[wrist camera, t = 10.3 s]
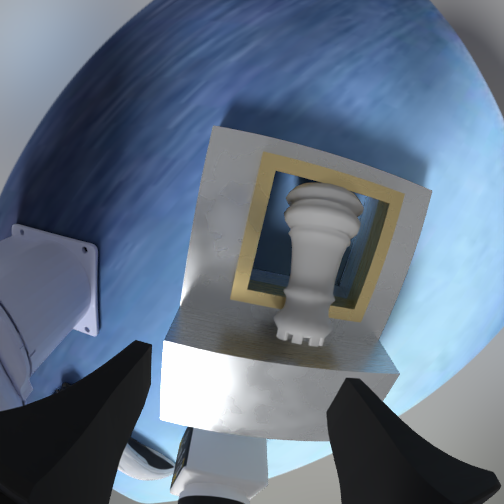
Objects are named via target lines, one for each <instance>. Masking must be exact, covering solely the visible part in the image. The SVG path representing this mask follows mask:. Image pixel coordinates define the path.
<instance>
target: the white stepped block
mask: <svg viewBox="0 0 504 504" xmlns="http://www.w3.org/2000/svg"><path fill="white" fill-rule="evenodd" d="M275 171H279V172H284V173H288V174H292V175H295V176H299V177H303V178H307V179H311V180H314V181H318V182H322V183H328V184H333V185H337V186H340V187H343V188H346V189H347V190H349V191H353V192H356V193H359V194H362V195H365V196H366V200H365V203H364V209H363V214H361V218H360V222H361V225H360V229H359V231H358V234H357V235H356V236H355V238H354V241H353V245H352V248H351V251H350V254H349V257H348V260H347V263H346V266H345V269H344V272H343V275H342V278H341V281H340V284H339V286H337V285H334V290H333V296H334V298H335V301H334V302H333V303H332V304H331V305H330V308H329V314H328V316H329V318H330V321H331V323H332V326H333V328H334V330H332V331H331V332H330V333H329V334H328V335H327V336H326V337H325V339H324V343H323V346H318V347H316V346H310V345H308V343H309V339H310V338H307V340H306V341H305V340H302V344H296V343H291V342H292V338H293V337H292V338H288V339H287V340H281V339H279V338H278V337H276V335H277V331H278V327H277V325H276V323H275V321H274V319H273V317H274V316H275V315H276V314H277V313H278V312H279V311H280V310H281V309H282V308H283V307H284V305H285V302H286V295H285V293H284V291H283V290H284V289H285V288H286V287H287V286H288V283H289V278H290V276H287V275H283V274H278V273H273V272H268V271H263V270H259V269H254V268H252V267H253V263H254V259H255V255H256V251H257V246H258V242H259V238H260V234H261V230H262V226H263V222H264V217H265V213H266V209H267V205H268V201H269V196H270V192H271V188H272V184H273V180H274V175H275ZM431 194H432V190H429V189H427V188H425V187H422V186H420V185H418V184H415V183H413V182H410V181H408V180H405V179H403V178H400V177H398V176H395V175H393V174H390V173H387V172H385V171H382V170H379V169H376V168H374V167H371V166H368V165H365V164H362V163H359V162H356V161H353V160H350V159H347V158H344V157H341V156H338V155H334V154H331V153H328V152H324V151H321V150H318V149H314V148H311V147H307V146H303V145H300V144H296V143H292V142H288V141H284V140H280V139H276V138H272V137H268V136H263V135H259V134H254V133H250V132H245V131H240V130H235V129H230V128H224V127H219V126H213V128H212V133H211V137H210V141H209V146H208V150H207V155H206V159H205V164H204V169H203V174H202V178H201V183H200V188H199V194H198V199H197V204H196V209H195V215H194V220H193V226H192V232H191V238H190V244H189V250H188V256H187V262H186V269H185V276H184V283H183V290H182V297H181V305H180V307H179V309H178V311H177V314H176V316H175V318H174V320H173V322H172V324H171V326H170V329H169V331H168V333H167V335H166V337H165V339H164V347H163V362H162V380H161V408H160V419H161V420H165V421H169V422H173V423H177V424H181V425H185V426H190V427H195V428H200V429H205V430H210V431H215V432H221V433H227V434H234V435H241V436H249V437H258V438H268V439H280V440H296V441H330V440H329V435H328V427H327V415H326V412H327V410H328V408H329V407H330V405H331V403H332V401H333V400H334V398H335V396H336V394H337V393H338V391H339V389H340V387H341V385H342V384H343V382H344V380H345V378H360V379H361V380H362V381H363V382H364V383H365V384H366V385H367V386H368V387H369V388H370V389H371V390H372V391H373V392H374V393H375V394H376V395H377V396H378V397H379V398H380V399H381V400H382V401H383V400H384V398H385V397H386V395H387V394H388V392H389V391H390V389H391V388H392V386H393V384H394V383H395V381H396V380H397V378H398V376H399V375H400V373H399V371H398V370H397V368H396V366H395V365H394V363H393V362H392V360H391V358H390V357H389V355H388V354H387V352H386V350H385V349H384V347H383V346H382V344H381V343H380V341H379V338H380V336H381V333H382V331H383V329H384V327H385V325H386V323H387V320H388V318H389V316H390V314H391V311H392V309H393V307H394V304H395V302H396V300H397V297H398V295H399V292H400V290H401V287H402V285H403V282H404V280H405V277H406V274H407V272H408V269H409V266H410V263H411V260H412V258H413V255H414V252H415V249H416V246H417V243H418V240H419V236H420V233H421V230H422V227H423V223H424V220H425V216H426V213H427V209H428V205H429V202H430V198H431Z"/></svg>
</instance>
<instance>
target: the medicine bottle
mask: <svg viewBox="0 0 504 504" xmlns="http://www.w3.org/2000/svg"><path fill="white" fill-rule="evenodd" d="M267 485H268V465H267V442H266V438H258V437H249V436H241V435H234V434H227V433H221V432H215V431H210V430H205V429H200V428H195V427H190V426H188V427H187V429H186V431H185V434H184V436H183V438H182V440H181V442H180V446H179V450H178V455H177V460H176V464H175V469H174V473H173V478H172V483H171V488H170V493H171V494H173V495H177V496H179V500H178V504H250V501H249V500H250V499H252V498H253V497H254V496H255V495H257V494H258V493H259V492H260V491H261V490H263V489H264V488H265V487H266V486H267Z"/></svg>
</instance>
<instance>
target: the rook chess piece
mask: <svg viewBox="0 0 504 504" xmlns="http://www.w3.org/2000/svg"><path fill="white" fill-rule="evenodd" d="M286 200H287V202H288V204H289V205H290V207H288V208H287V210H286V211H285V212H284V216H285V221H286V223H287V224H288V226H289V228H290V229H291V230H290V231H289V233H288V234H289V235H290V237H291V241H292V260H291V273H290V278H289V283H288V286H287V287H286V288H285V289H284V290H283V291H284V293H285V295H286V302H285V305H284V307H283V308H282V309H281V310H280V311H279V312H278V313H277V314H276V315H275V316H274V317H273V319H274V321H275V323H276V325H277V327H278V331H277V335H276V337H278V338H279V339H281V340H287V339H288V338H292V337H293V338H292V342H291V343H296V344H302V340H305V341H306V340H307V338H310V339H309V343H308V345H310V346H316V347H318V346H323V343H324V339H325V337H326V336H327V335H328V334H329V333H330V332H331V331H332V330H334V328H333V326H332V323H331V321H330V318H329V316H328V314H329V308H330V305H331V304H332V303H333V302H334V301H335V298H334V296H333V290H334V284H335V279H336V276H337V273H338V270H339V266H340V263H341V260H342V257H343V255H344V252H345V250H346V248H347V247H348V246H350V243H351V242H350V240H351V239H352V238H353V237H354V236H356V235H357V234H358V231H359V229H360V225H361V222H360V221H359V219H358V218H357V217H358V216H359V215H361V214H363V209H364V207H363V206H362V204H361V202H360V200H359V199H358V198H357V196H356V195H355V194H354V193H353V192H351V191H349V190H347V189H346V188H343V187H340V186H337V185H333V184H328V183H319V182H313V183H304V184H301V185H299V186H296V187H295V188H294V189H293V190H292V191H290V192H289V194H288V195H287V197H286Z"/></svg>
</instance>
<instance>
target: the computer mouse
mask: <svg viewBox="0 0 504 504" xmlns="http://www.w3.org/2000/svg"><path fill="white" fill-rule="evenodd" d="M69 386H70V384H68V383H66V382H65V383H63V385H62V388H61V390H63V389H65V388H67V387H69ZM61 390H60V391H61ZM56 391H57V392H59V390H58V389H57V390H56ZM118 469H119V470H120V471H122V472H123V473H125V474H126V475H128V476H131V477H133V478H136V479H140V480H158V479H162V478H165V477H168V476H170V475H172V474H173V473H174V469H175V464H174V463H173V462H172V461H171V460H170V459H168V458H167V457H165V456H164V455H162V454H161V453H159V452H157V451H155V450H153V449H151V448H149V447H147V446H145V445H143V444H141V443H139V442H138V441H136V440H134V439H133V438H131V437H130V438H129V440H128V442H127V445H126V447H125V449H124V451H123V454H122V457H121V459H120V463H119V466H118Z"/></svg>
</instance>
